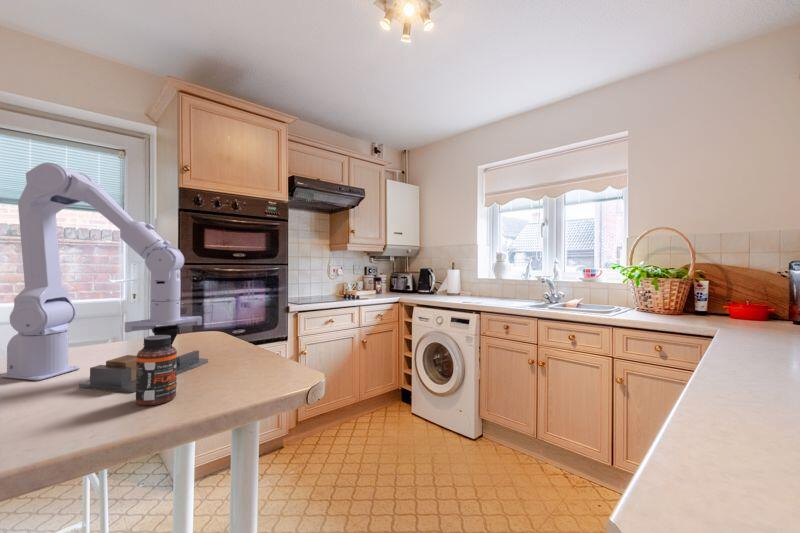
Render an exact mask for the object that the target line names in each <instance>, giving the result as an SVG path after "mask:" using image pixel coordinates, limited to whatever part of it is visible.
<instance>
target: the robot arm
mask: <svg viewBox="0 0 800 533" xmlns="http://www.w3.org/2000/svg"><path fill="white" fill-rule="evenodd" d="M25 181H26V182H25V183H26V185H25V187H24V189H23V191H22V193H21V195H20V197H19V199H18V202H17V203H18V204H17V208H18V221H19V234H20V244H21V245H20V246H21V255H22V257H21V258H22V267H23V268H22V270H23V280H24V281H23V282H24V288H23V289H22V291H20V292H19V293H18V294H17V295H16V296H15V297H14V299H13V307H12V308H13V309H12V311H11V312H10V315H9V323H10V325H11V327H12V328H13V329H14V330H15V332H17V334H15V335H13V336H12V337H11V338H10V340H9V341H8V343H7V346H6V373H4V374H1V378H6V379H7V378H9V379H19V380H29V381H40V380H44V379H48V378H51V377H56V376H58V375H62V374H66V373H69V372H73V371H77V370H80V366H76V365H69V329H70V324H71V323H72V322H73V321H74V320H75V318H76V316H77V308H76V305H75V304H74V303H73V302H72V299H71V293H70V292H69V291H68V290H67V289H66V288H65V287H64V286H63V284H62V275H61V274H62V272H61V261H60V250H59V237H58V235H59V234H58V224H57V222H58V221H57V214H58V213H59V212H60V211H62V210H63V209H65V208H66V207H68V206H71V205H74V204H77V203H80V202H83V203H86V204H88V205H90V206H91V207H92V208H93V209H95V210H96V211H97V212H98V213H99V214H101V215H102V217H104V218H105V219H107V220H108V221H109V222H111V224H113V225H114V226H115V227H116V228H117V229H118V230H119V232H120V233H119V234H120V235H119V237H120V239H121V240H122V241H123V242H124V243H125V244H126V245H128V246H129V247H130V248H131V249H132V250H133V251H134V252H135V253H136V254H138V255H139V256H140V257H141V258H142V259H143V260H144V263H145V266H146V268H147V269H148V270H149V272H150V281H149V282H150V285H149V287H150V288H149V289H150V290H149V292H150V293H149V295H150V296H149V303H150V304H149V318H148V319H142V320H134V321H125V322H124V329H123V331H124V332H125V333H131V332H137V331H147V330H151V331H152V333H153V336H154V335H170V336H171V345H172V346H173V343H174V341H175V339H176V338H177V336H178V335H179V332H180V329H179V327H188V326H202V325H203V316H200V315H195V316H181V286H182V285H181V284H182V283H181V282H182V281H181V269H182V268H183V267H184V265H185V256H184V255H183V252H181V250H180V249H179V248H177V247H172V246H171V241H169V240H164V239H163V238H162V236H161V235H159V234H158V233H157V232H156V231H155V230H154V229H155V226H153V224H151V223H146V222H145V221H142V220H134V219H133V218H132V217H131V216H130V214H129V213H127V212H126V211H125V210H124V209H123V208H122V207H121V205H119V204H118V203H117V202H116V201H115V200H114V199H113V198H112V197H111V196H110V195H109V194H108V193H107V192H106V191H105V189H104V188H102V186H101V185H100V184H98V183H97V182H96V181H93V180H92V178H91V177H89V176H88V175H87V174H85V173H82V172H77V171H75V170H71V169H68V168H66V167H63V166H62V165H59V164H57V163H54V162H43V163H40V164H38V165H36V166H35V167H33V168H32V169H30V170H29V171H26V173H25Z"/></svg>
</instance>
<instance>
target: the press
mask: <svg viewBox="0 0 800 533" xmlns="http://www.w3.org/2000/svg"><path fill="white" fill-rule="evenodd" d="M208 363H209V358H201V357H200V350H192V351H190V352H188V353H187V352H186V353H184V354H181V355H179V356H178V355H177V376H178V375H180V374H183V373H185V372H187V371H190V370H192V369H194V368H198V367H199V366H200V367H201V366H203V365H204V364H208ZM78 388H79V389H80V388H81V389H91V390H99V389H100V390H102V391H110V392H111V391H113V392H122V393H123V392H124V393H136V380H133V381H131V367H122V366H110V365H106V364H99V365H98V364H97V365H95V366H93V367H89V380H86V381H82V382H79V383H78Z"/></svg>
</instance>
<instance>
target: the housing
mask: <svg viewBox="0 0 800 533" xmlns="http://www.w3.org/2000/svg"><path fill="white" fill-rule="evenodd" d="M136 362H137V355H131V354H127V355H122V356H120V357H115V358H112V359H109V360H106V361H105V365H110V366H122V367H131V381H133V380H136Z"/></svg>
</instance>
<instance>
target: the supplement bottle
mask: <svg viewBox="0 0 800 533" xmlns="http://www.w3.org/2000/svg"><path fill="white" fill-rule="evenodd" d="M136 356H137V362H136V392H135V402H136V403H137V404H138V405H140V406H156V405H157V406H158V405H161V404H165V403H168V402H170V401H171V400H173V399H174V398H175V397H176V395H177V376H178V375H177V357H178V350H177V349H176V347H174V346H173V344H172V345H171V336H170V335H154V334H153V335H150V336H145V337H144V338H143V347H142V349H140V350H138V352H137V354H136Z"/></svg>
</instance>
